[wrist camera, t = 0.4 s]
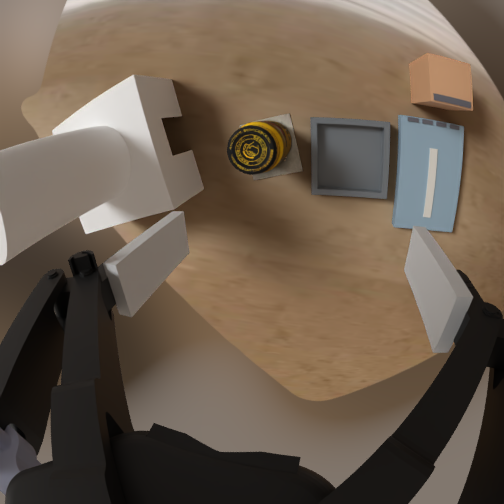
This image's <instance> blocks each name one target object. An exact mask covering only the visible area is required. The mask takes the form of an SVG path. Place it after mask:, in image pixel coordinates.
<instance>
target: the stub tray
mask: <svg viewBox="0 0 504 504" xmlns="http://www.w3.org/2000/svg"><path fill="white" fill-rule="evenodd" d="M310 118H311V164H312V194H313V195H334V196H351V197H366V198H379V199H387V189H388V175H389V155H390V122H382V121H372V120H360V119H344V118H319V117H310Z"/></svg>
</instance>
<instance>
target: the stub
mask: <svg viewBox="0 0 504 504" xmlns="http://www.w3.org/2000/svg"><path fill="white" fill-rule="evenodd" d="M409 68H410V83H411V103H413V104H419V105H424V106H430V107H435V108H440V109H445V110H465V111H473V94H472V78H471V67H470V64H468V63H464V62H461V61H457V60H454V59H450V58H447V57H443V56H439V55H434V54H430V53H426V54H425V55H423V56H421V57H419V58H418V59H416V60H414V61H413V62H411V63H409Z"/></svg>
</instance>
